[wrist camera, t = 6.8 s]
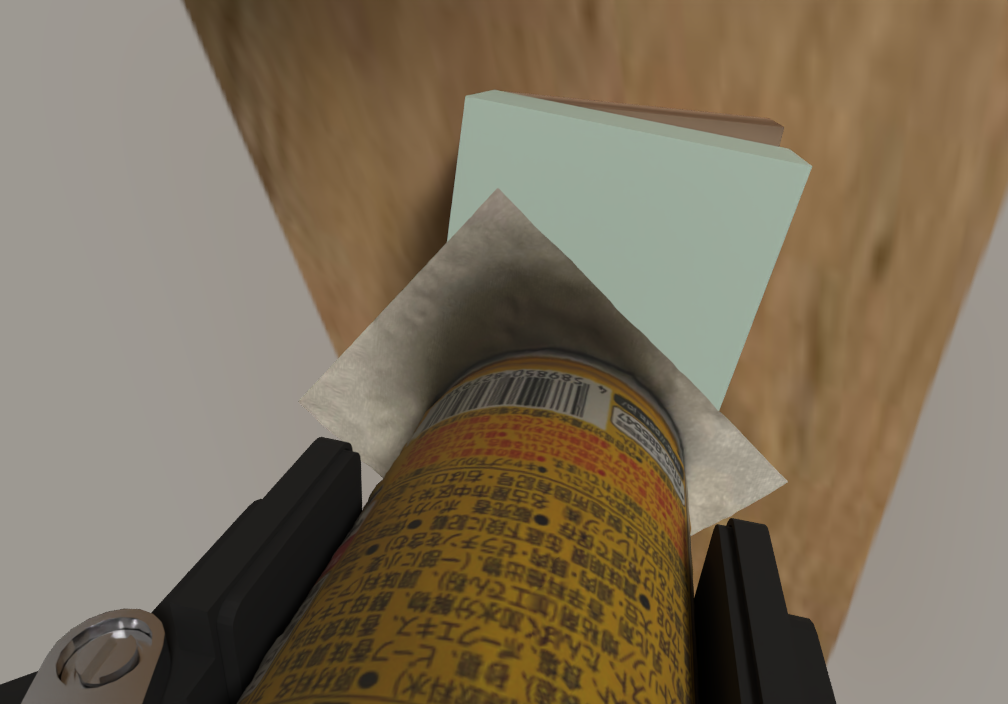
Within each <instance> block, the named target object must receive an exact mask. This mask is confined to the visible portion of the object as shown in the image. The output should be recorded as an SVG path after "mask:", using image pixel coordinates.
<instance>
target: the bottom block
mask: <svg viewBox="0 0 1008 704" xmlns="http://www.w3.org/2000/svg"><path fill="white" fill-rule="evenodd" d="M504 92H507V91H504ZM508 93H513V94H518V95H523V96H528V97H533V98H538V99H543V100H548V101H553V102H558V103H563V104H568V105H573V106H578V107H583V108H588V109H593V110H598V111H603V112H608V113H613V114H618V115H623V116H628V117H633V118H638V119H643V120H648V121H653V122H658V123H663V124H668V125H673V126H678V127H683V128H688V129H693V130H698V131H703V132H708V133H713V134H718V135H723V136H728V137H733V138H738V139H743V140H748V141H753V142H758V143H763V144H768V145H773V146H778V147H779V146H780V142H781V138H782V134H783V130H784V127H783V126H781V125H780V124H778V123H776V122H774V121H773V120H771V119H769V118H761V117H751V116H741V115H732V114H722V113H712V112H702V111H692V110H683V109H673V108H663V107H653V106H644V105H634V104H624V103H614V102H604V101H595V100H585V99H575V98H565V97H555V96H546V95H536V94H526V93H516V92H508Z"/></svg>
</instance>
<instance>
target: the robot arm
mask: <svg viewBox="0 0 1008 704" xmlns="http://www.w3.org/2000/svg"><path fill="white" fill-rule="evenodd" d="M361 512H362V487H361V458H360V454H359V453H358V452H353V448H352V445H351V444H350V443H349V442H344V441H339V440H334V439H329V438H324V437H319V438H317V439H316V440H315V441H314V442H313V443H312V444H311V445H310V447H309V448H308V449H307V450H306V451H305V452H304V453H303V454H302V455H301V457H300V458H299V459H298V460H297V461H296V462H295V463H294V465H293V466H292V467H291V468H290V469H289V470H288V471H287V472H286V473H285V474H284V476H283V477H282V478H281V479H280V480H279V481H278V482H277V483H276V484H275V486H274V487H273V488H272V489H271V490H270V491H269V492H268V493H267V495H266V496H265V497H264V498H263V499H259V500H256V501H254V502H253V503H252V504H251V505H250V506H248V508H247V509H246V510H245V511H244V512H243V513H242V514H241V515H240V516H239V517H238V518H237V520H236V521H235V522H234V523H233V524H232V525H231V526H230V527H229V528H228V529H227V531H226V532H225V533H224V534H223V535H222V536H221V537H220V538H219V539H218V540H217V541H216V543H215V544H214V545H213V546H212V547H211V548H210V549H209V550H208V551H207V553H205V555H204V556H203V557H202V558H201V559H200V560H199V561H198V562H197V563H196V564H195V566H194V567H193V568H192V569H191V570H190V571H189V572H188V573H187V574H186V575H185V577H184V578H183V579H182V580H181V581H180V582H179V583H178V584H177V585H176V586H175V587H174V589H173V590H172V591H171V592H170V593H169V594H168V595H167V596H166V597H165V598H164V600H163V601H162V602H161V603H160V604H159V605H158V606H157V607H156V608H155V609H154V610H153V612H152V613H149V612H146V611H143V610H141V609H120V610H114V611H109V612H105V613H103V614H100V615H97V616H95V617H92V618H89V619H88V620H86V621H84V622H82V623H81V624H79V625H77V626H76V627H74V628H73V629H71V630H70V631H69V632H68V633H66V634H65V635H64V636H63V637H62V638H61V639H60V640H58V641H57V642H56V644H55V645H54V646H53V648H52V649H51V651H50V652H49V653H48V655H47V656H46V658H45V660H44V662H43V663H42V665H41V667H40V669H39V671H37V672H34V673H31V674H28V675H26V676H23V677H20V678H18V679H15V680H12V681H9V682H6V683H4V684H1V685H0V704H237V702H238V700H239V699H240V697H241V696H242V694H243V692H244V691H245V689H246V688H247V687H248V685H249V684H250V683H251V682H252V680H253V678H254V675H255V673H256V672H257V671H258V669H259V666H260V664H261V662H262V660H263V658H264V656H265V655H266V653H267V652H268V651H269V649H270V648H271V647H272V645H273V644H274V642H275V641H276V639H277V638H278V637H279V636H280V635H282V634H283V633H284V630H285V628H286V627H287V626H288V625H289V623H290V622H291V620H292V618H293V617H294V615H295V614H296V613H297V611H298V610H299V608H300V606H301V605H302V603H303V602H304V600H305V598H306V597H307V595H308V594H309V592H310V590H311V589H312V587H313V586H314V585H315V583H316V581H317V580H318V578H319V577H320V576H321V574H322V572H323V571H324V570H325V568H326V567H327V565H328V563H329V562H330V560H331V558H332V556H333V555H334V553H335V552H336V550H337V549H338V548H339V547H340V545H341V544H342V542H343V541H344V539H345V538H346V536H347V534H348V532H349V531H350V530H351V529H352V527H353V525H354V523H355V522H356V520H357V519H358V517H359V516H360V514H361ZM694 605H695V609H694V618H695V631H696V646H697V662H698V680H699V701H700V704H836V701H835V697H834V693H833V690H832V686H831V682H830V679H829V675H828V671H827V668H826V664H825V660H824V657H823V653H822V650H821V646H820V642H819V639H818V635H817V632H816V629H815V627H814V624H813V623H812V621H811V620H810V619H808V618H804V617H799V616H795V615H790V614H788V612H787V608H786V604H785V599H784V595H783V591H782V586H781V582H780V578H779V573H778V569H777V565H776V560H775V556H774V552H773V548H772V543H771V539H770V535H769V531H768V528H767V526H766V525H764V524H759V523H754V522H749V521H744V520H739V519H734V518H731V519H729V521H728V523H727V525H726V526H724V525H719V524H717V525H716V526H715V528H714V530H713V534H712V537H711V541H710V544H709V548H708V551H707V555H706V558H705V562H704V565H703V569H702V572H701V576H700V579H699V583H698V587H697V590H696V594H695V597H694Z"/></svg>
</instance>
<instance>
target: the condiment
mask: <svg viewBox="0 0 1008 704" xmlns="http://www.w3.org/2000/svg"><path fill="white" fill-rule="evenodd" d="M298 402H299V403H300V404H301V405H302V406H303V407H304V408H305V409H306V410H308V411H309V412H310V413H311V414H312V415H313V416H314V417H315V418H316V419H317V420H318V422H319V423H320V424H322V425H323V426H324V427H325V428H326V429H327V430H329V431H330V432H331V433H333V434H334V435H335V436H337V437H338V438H340V439H341V440H342V441H344V442H349V443H350V444H351V445H352V448H353V452H358V453H359V454H360V458H361V461H363V462H364V463H366V464H368V465H369V466H370V467H372V468H373V469H374V470H375V471H376V472H377V473H378V474H379V475H380V476H381V477H383V480H382V481H381V482H379V483H378V484H377V485H376V487H375V489H374V490H373V491H372V493H371V495H370V497H369V499H368V502H367V503H366V505H365V506H364V508H363V510H362V512H361V514H360V516H359V517H358V519H357V520H356V522H355V523H354V525H353V527H352V529H351V530H350V531H349V532H348V534H347V536H346V538H345V539H344V541H343V542H342V544H341V545H340V547H339V548H338V549H337V550H336V552H335V553H334V555H333V556H332V558H331V560H330V562H329V563H328V565H327V567H326V568H325V570H324V571H323V572H322V574H321V576H320V577H319V578H318V580H317V581H316V583H315V585H314V586H313V587H312V589H311V590H310V592H309V594H308V595H307V597H306V598H305V600H304V602H303V603H302V605H301V606H300V608H299V610H298V611H297V613H296V614H295V615H294V617H293V618H292V620H291V622H290V623H289V625H288V626H287V627H286V628H285V630H284V633H283V634H282V635H280V636H279V637H278V638H277V639H276V641H275V642H274V644H273V645H272V647H271V648H270V649H269V651H268V652H267V653H266V655H265V656H264V658H263V660H262V662H261V664H260V666H259V669H258V671H257V672H256V673H255V675H254V678H253V680H252V682H251V683H250V684H249V685H248V687H247V688H246V689H245V691H244V692H243V694H242V696H241V697H240V699H239V700H238V702H237V704H700V701H699V680H698V662H697V646H696V631H695V618H694V609H695V605H694V586H693V565H692V555H691V538H690V536H692V535H694V534H695V533H697V532H699V531H700V530H702V529H704V528H706V527H709V526H711V525H713V524H715V523H717V522H719V521H720V520H722V519H725V518H727V517H730V516H731V515H733V514H734V513H736V512H737V511H739V510H741V509H743V508H745V507H747V506H748V505H750V504H752V503H754V502H755V501H757V500H759V499H761V498H762V497H764V496H766V495H768V494H769V493H771V492H773V491H774V490H776V489H777V488H779V487H780V486H782V485H784V484H785V483H787V482H788V481H787V480H786V479H785V478H784V477H783V476H782V475H781V474H780V473H779V472H778V471H777V470H776V469H775V468H774V467H773V466H772V465H771V464H770V463H769V462H768V461H767V460H766V459H765V458H764V457H763V455H762V454H761V453H760V452H759V451H758V450H757V449H756V448H755V447H754V446H753V445H752V444H751V443H750V442H749V441H748V440H747V439H746V438H745V437H744V436H743V435H742V433H741V432H740V431H739V430H738V429H737V428H736V427H735V426H734V425H733V424H732V423H731V422H730V421H729V420H728V419H727V418H726V417H725V416H724V415H723V414H722V413H720V412H719V411H718V410H717V409H716V408H715V407H714V405H713V404H712V403H711V402H710V401H709V399H708V398H707V397H706V396H705V395H704V394H703V393H702V392H701V391H700V390H699V389H698V388H697V387H696V386H695V385H694V384H693V383H692V382H691V381H690V380H689V379H688V378H687V377H686V376H685V375H684V374H683V373H682V372H680V371H679V370H678V369H677V367H676V366H675V365H674V364H673V363H672V362H671V361H670V360H669V359H668V358H667V357H666V356H665V355H664V354H663V353H662V352H661V351H660V350H659V349H658V348H657V347H656V346H655V345H654V344H653V343H651V342H650V340H649V339H648V338H647V337H646V336H645V335H644V334H643V333H642V332H641V331H640V330H639V329H637V328H636V327H635V326H634V325H633V324H632V323H631V322H630V321H628V320H627V319H626V318H625V317H624V316H623V315H622V314H621V313H620V312H619V311H618V310H617V309H616V308H615V306H614V305H613V304H612V302H611V301H610V300H609V299H608V298H607V297H606V296H605V295H604V294H603V293H602V292H601V291H600V290H599V289H598V288H597V287H596V286H595V285H594V284H593V283H592V282H591V281H590V280H589V279H588V278H587V277H586V276H585V274H584V273H583V272H582V271H581V270H580V269H579V268H578V267H577V266H576V265H575V264H574V263H573V261H572V260H571V259H569V258H568V257H567V256H566V255H565V254H564V253H563V252H562V251H561V250H560V249H559V248H558V247H557V246H556V245H555V244H553V243H552V242H551V241H550V240H549V239H548V238H547V237H546V236H545V235H544V234H542V233H541V232H540V231H539V230H538V229H537V228H536V227H535V226H534V225H533V224H532V223H531V221H530V220H529V219H528V218H527V217H526V216H525V215H524V214H523V213H522V212H521V211H520V210H519V209H518V208H517V207H516V206H515V205H514V204H513V203H512V202H511V201H510V200H509V198H508V197H507V196H506V195H505V194H504V193H503V192H502V191H501V190H500V189H499V188H497V189H496V190H495V191H494V192H493V193H492V194H491V195H490V196H489V197H488V199H487V200H486V201H485V202H484V203H483V204H482V205H481V206H480V207H479V208H478V209H477V210H476V211H475V213H474V214H473V215H472V217H471V218H469V219H468V220H467V221H466V222H465V224H464V225H463V226H462V227H461V228H460V229H459V230H458V231H457V232H456V233H455V234H454V235H453V236H452V237H451V239H450V240H449V241H448V242H447V243H446V244H445V245H444V246H443V247H442V248H441V249H440V250H439V251H438V253H437V254H436V255H435V256H434V257H433V258H432V259H431V260H430V261H429V262H428V264H427V265H426V266H425V267H424V268H423V269H422V270H421V271H420V272H419V273H418V274H417V275H416V276H415V277H414V278H413V279H412V280H411V282H410V283H409V284H408V285H407V286H406V287H405V288H404V289H403V290H402V291H401V292H400V293H399V294H398V295H397V296H396V298H395V299H394V300H393V301H392V302H391V303H390V304H389V305H388V306H387V307H386V308H385V309H384V310H383V311H382V312H381V314H380V315H379V316H378V317H377V318H376V319H375V320H374V321H373V322H372V323H371V324H370V325H369V326H368V327H367V329H366V330H365V331H364V332H363V333H362V334H361V335H360V336H359V337H358V338H357V339H356V340H355V341H354V343H353V344H352V345H351V346H350V347H349V348H348V349H347V350H346V351H345V352H344V353H343V354H342V355H341V356H340V357H339V358H338V360H337V361H336V362H335V363H334V364H333V365H332V366H331V367H330V368H329V369H328V371H327V372H326V373H325V374H324V375H323V376H322V377H321V378H320V379H319V380H318V381H317V382H316V383H315V384H314V385H313V386H312V387H311V388H310V389H309V391H308V392H307V393H306V394H305V395H304V396H303V397H302V398H301V399H300V400H299V401H298Z"/></svg>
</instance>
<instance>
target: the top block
mask: <svg viewBox="0 0 1008 704" xmlns="http://www.w3.org/2000/svg"><path fill="white" fill-rule="evenodd" d="M811 168H812V166H811V165H810V164H808V163H807V162H806V161H804V160H803V159H802V158H800V157H799V156H798V155H797V154H795V153H794V152H793V151H791V150H790V149H787V148H782V147H778V146H773V145H768V144H763V143H758V142H753V141H748V140H743V139H738V138H733V137H728V136H723V135H718V134H713V133H708V132H703V131H698V130H693V129H688V128H683V127H678V126H673V125H668V124H663V123H658V122H653V121H648V120H643V119H638V118H633V117H628V116H623V115H618V114H613V113H608V112H603V111H598V110H593V109H588V108H583V107H578V106H573V105H568V104H563V103H558V102H553V101H548V100H543V99H538V98H533V97H528V96H523V95H518V94H513V93H508V92H503V91H498V90H491V91H487V92H482V93H477V94H473V95H468V96H466V97H465V105H464V113H463V120H462V128H461V136H460V144H459V152H458V160H457V167H456V175H455V183H454V191H453V199H452V206H451V214H450V222H449V230H448V238H447V242H448V241H449V240H450V239H451V237H452V236H453V235H454V234H455V233H456V232H457V231H458V230H459V229H460V228H461V227H462V226H463V225H464V224H465V222H466V221H467V220H468V219H469V218H471V217H472V215H473V214H474V213H475V211H476V210H477V209H478V208H479V207H480V206H481V205H482V204H483V203H484V202H485V201H486V200H487V199H488V197H489V196H490V195H491V194H492V193H493V192H494V191H495V190H496V189H497V188H499V189H500V190H501V191H502V192H503V193H504V194H505V195H506V196H507V197H508V198H509V200H510V201H511V202H512V203H513V204H514V205H515V206H516V207H517V208H518V209H519V210H520V211H521V212H522V213H523V214H524V215H525V216H526V217H527V218H528V219H529V220H530V221H531V223H532V224H533V225H534V226H535V227H536V228H537V229H538V230H539V231H540V232H541V233H542V234H544V235H545V236H546V237H547V238H548V239H549V240H550V241H551V242H552V243H553V244H555V245H556V246H557V247H558V248H559V249H560V250H561V251H562V252H563V253H564V254H565V255H566V256H567V257H568V258H569V259H571V260H572V261H573V263H574V264H575V265H576V266H577V267H578V268H579V269H580V270H581V271H582V272H583V273H584V274H585V276H586V277H587V278H588V279H589V280H590V281H591V282H592V283H593V284H594V285H595V286H596V287H597V288H598V289H599V290H600V291H601V292H602V293H603V294H604V295H605V296H606V297H607V298H608V299H609V300H610V301H611V302H612V304H613V305H614V306H615V308H616V309H617V310H618V311H619V312H620V313H621V314H622V315H623V316H624V317H625V318H626V319H627V320H628V321H630V322H631V323H632V324H633V325H634V326H635V327H636V328H637V329H639V330H640V331H641V332H642V333H643V334H644V335H645V336H646V337H647V338H648V339H649V340H650V342H651V343H653V344H654V345H655V346H656V347H657V348H658V349H659V350H660V351H661V352H662V353H663V354H664V355H665V356H666V357H667V358H668V359H669V360H670V361H671V362H672V363H673V364H674V365H675V366H676V367H677V369H678V370H679V371H680V372H682V373H683V374H684V375H685V376H686V377H687V378H688V379H689V380H690V381H691V382H692V383H693V384H694V385H695V386H696V387H697V388H698V389H699V390H700V391H701V392H702V393H703V394H704V395H705V396H706V397H707V398H708V399H709V401H710V402H711V403H712V404H713V405H714V407H715V408H716V409H717V410H718V411H719V409H720V407H721V404H722V401H723V399H724V396H725V394H726V391H727V388H728V386H729V383H730V380H731V378H732V375H733V373H734V370H735V367H736V365H737V362H738V360H739V357H740V354H741V352H742V349H743V346H744V344H745V341H746V339H747V336H748V333H749V331H750V328H751V325H752V323H753V320H754V318H755V315H756V312H757V310H758V307H759V304H760V302H761V299H762V297H763V294H764V291H765V289H766V286H767V283H768V281H769V278H770V276H771V273H772V270H773V268H774V265H775V262H776V260H777V257H778V255H779V252H780V249H781V247H782V244H783V241H784V239H785V236H786V234H787V231H788V228H789V226H790V223H791V221H792V218H793V215H794V213H795V210H796V207H797V205H798V202H799V200H800V197H801V194H802V192H803V189H804V186H805V184H806V181H807V179H808V176H809V173H810V171H811Z"/></svg>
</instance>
